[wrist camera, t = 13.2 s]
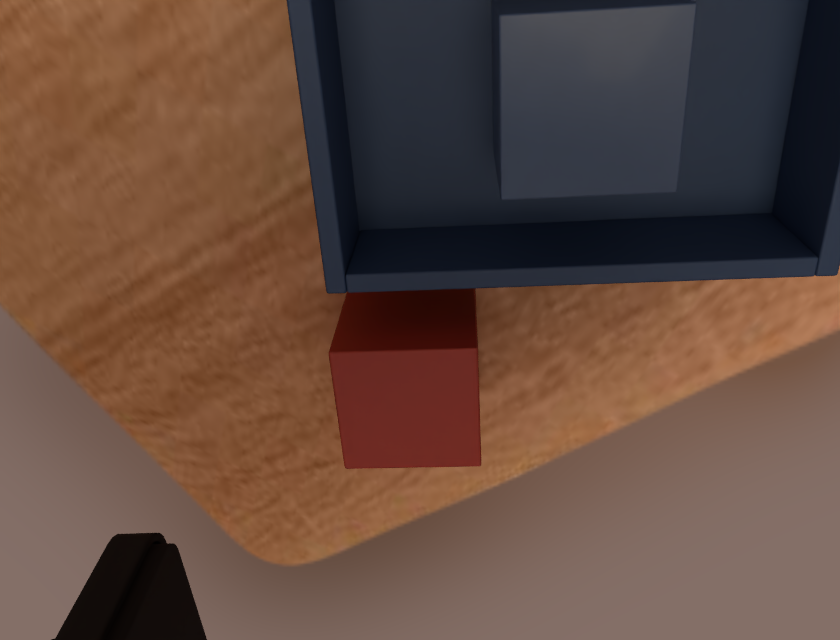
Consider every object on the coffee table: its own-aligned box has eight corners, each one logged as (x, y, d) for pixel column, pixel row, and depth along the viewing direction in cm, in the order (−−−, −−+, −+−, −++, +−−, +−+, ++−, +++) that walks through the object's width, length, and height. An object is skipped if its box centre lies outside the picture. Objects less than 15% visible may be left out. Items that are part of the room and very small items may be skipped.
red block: (360, 392, 28) (344, 469, 24) (347, 287, 25) (328, 352, 22) (478, 389, 27) (481, 466, 23) (474, 282, 25) (477, 347, 21)
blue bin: (345, 241, 25) (326, 294, 21) (303, -110, 20) (270, -117, 16) (781, 224, 24) (838, 276, 20) (850, -151, 19) (939, -168, 15)
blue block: (490, -4, 20) (498, 14, 17) (652, -14, 20) (698, 2, 16) (493, 153, 22) (500, 200, 19) (639, 146, 22) (678, 193, 18)
